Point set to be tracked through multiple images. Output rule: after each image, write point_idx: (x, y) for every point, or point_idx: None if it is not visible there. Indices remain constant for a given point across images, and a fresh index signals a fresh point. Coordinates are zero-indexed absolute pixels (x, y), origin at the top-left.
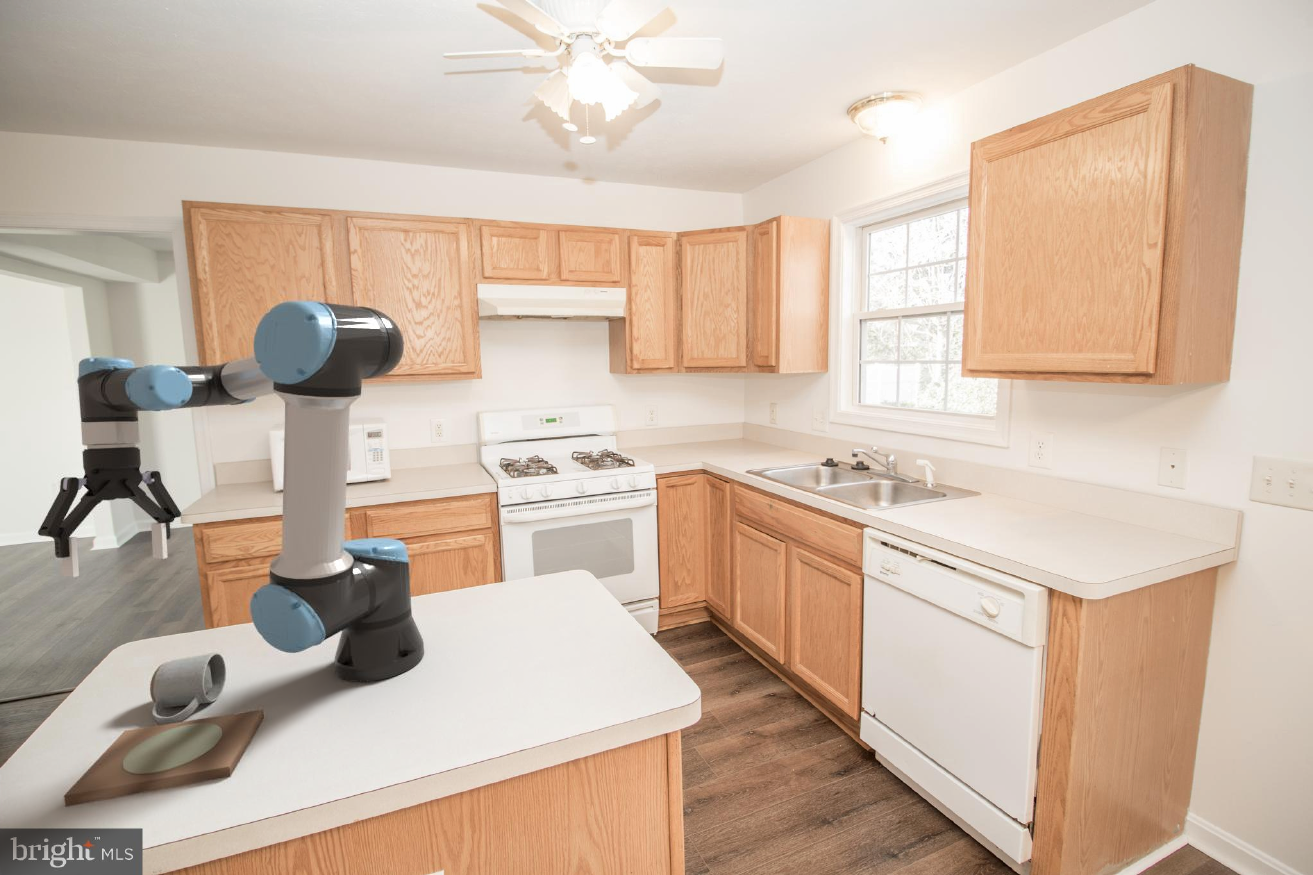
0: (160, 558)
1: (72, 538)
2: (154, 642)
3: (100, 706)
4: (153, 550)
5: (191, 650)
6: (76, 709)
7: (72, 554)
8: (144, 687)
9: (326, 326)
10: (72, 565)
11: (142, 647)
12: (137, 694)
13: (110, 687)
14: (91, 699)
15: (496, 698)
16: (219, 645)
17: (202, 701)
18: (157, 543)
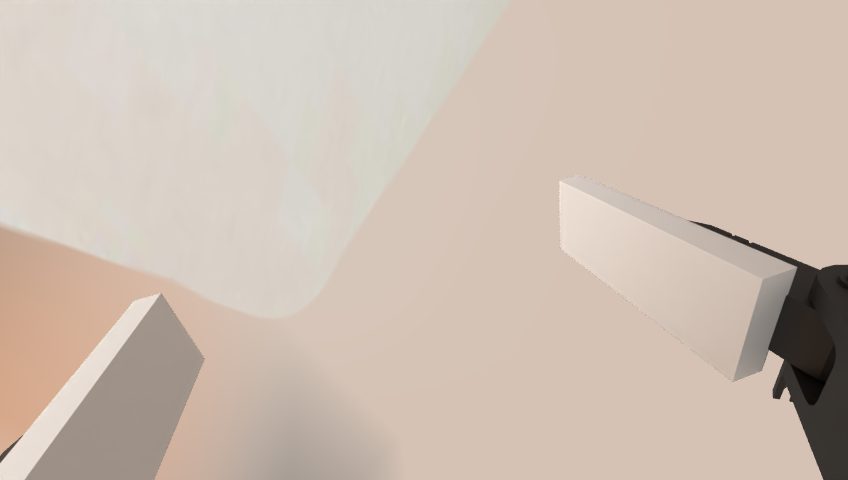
0: (173, 311)
1: (784, 263)
2: (256, 299)
3: (414, 51)
4: (186, 388)
5: (203, 181)
6: (440, 84)
7: (668, 214)
8: (336, 60)
9: None
10: (619, 193)
11: (281, 291)
12: (355, 35)
13: (377, 131)
14: (413, 105)
15: None
16: (135, 149)
17: None
18: (143, 398)
